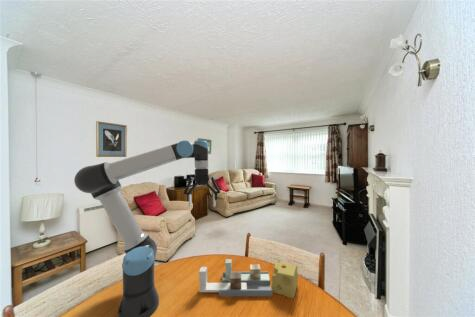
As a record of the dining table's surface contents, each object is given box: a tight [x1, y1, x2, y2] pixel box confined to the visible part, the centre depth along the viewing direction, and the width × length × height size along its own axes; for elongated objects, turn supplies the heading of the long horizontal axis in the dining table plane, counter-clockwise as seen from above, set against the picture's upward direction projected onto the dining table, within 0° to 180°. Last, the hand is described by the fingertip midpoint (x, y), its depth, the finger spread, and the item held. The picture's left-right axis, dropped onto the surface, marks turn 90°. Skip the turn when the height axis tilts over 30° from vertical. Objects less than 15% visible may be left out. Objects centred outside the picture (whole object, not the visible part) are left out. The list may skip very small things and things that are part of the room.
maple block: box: [249, 263, 261, 280], centre depth 91 cm, size 5×4×5 cm
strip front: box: [198, 266, 247, 293], centre depth 85 cm, size 22×5×9 cm, turn 88°
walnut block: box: [230, 273, 241, 289], centre depth 84 cm, size 5×4×5 cm
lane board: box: [218, 270, 273, 297], centre depth 88 cm, size 24×14×3 cm, turn 88°
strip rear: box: [224, 258, 271, 281], centre depth 91 cm, size 22×5×9 cm, turn 88°
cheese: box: [271, 260, 299, 299], centre depth 85 cm, size 10×11×10 cm
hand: (202, 206), depth 99 cm, fingers open, 13 cm apart
